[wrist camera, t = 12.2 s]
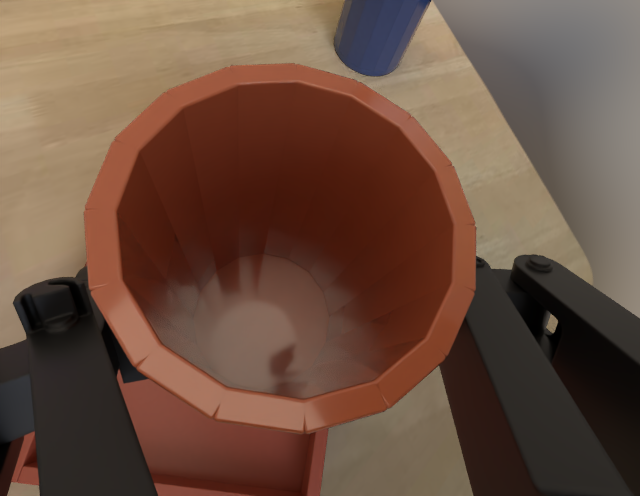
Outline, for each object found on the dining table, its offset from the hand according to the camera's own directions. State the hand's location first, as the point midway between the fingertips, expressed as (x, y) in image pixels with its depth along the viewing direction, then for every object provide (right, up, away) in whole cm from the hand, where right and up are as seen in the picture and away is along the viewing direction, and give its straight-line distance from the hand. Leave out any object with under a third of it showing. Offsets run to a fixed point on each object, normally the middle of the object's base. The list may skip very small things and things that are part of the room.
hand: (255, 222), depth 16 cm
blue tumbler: (+7, +19, +23) cm, 30 cm away
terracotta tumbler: (0, -4, +2) cm, 5 cm away
